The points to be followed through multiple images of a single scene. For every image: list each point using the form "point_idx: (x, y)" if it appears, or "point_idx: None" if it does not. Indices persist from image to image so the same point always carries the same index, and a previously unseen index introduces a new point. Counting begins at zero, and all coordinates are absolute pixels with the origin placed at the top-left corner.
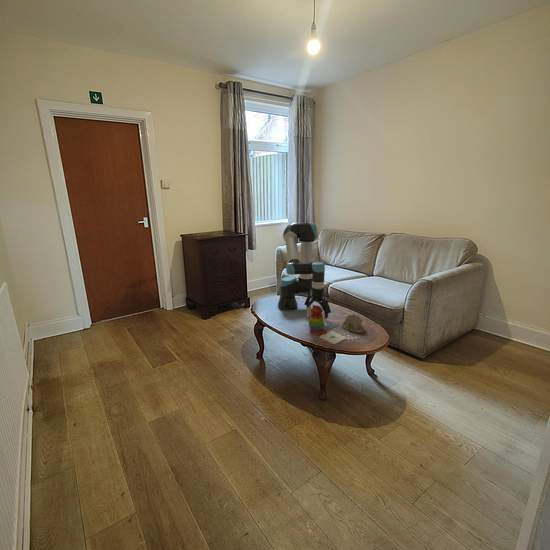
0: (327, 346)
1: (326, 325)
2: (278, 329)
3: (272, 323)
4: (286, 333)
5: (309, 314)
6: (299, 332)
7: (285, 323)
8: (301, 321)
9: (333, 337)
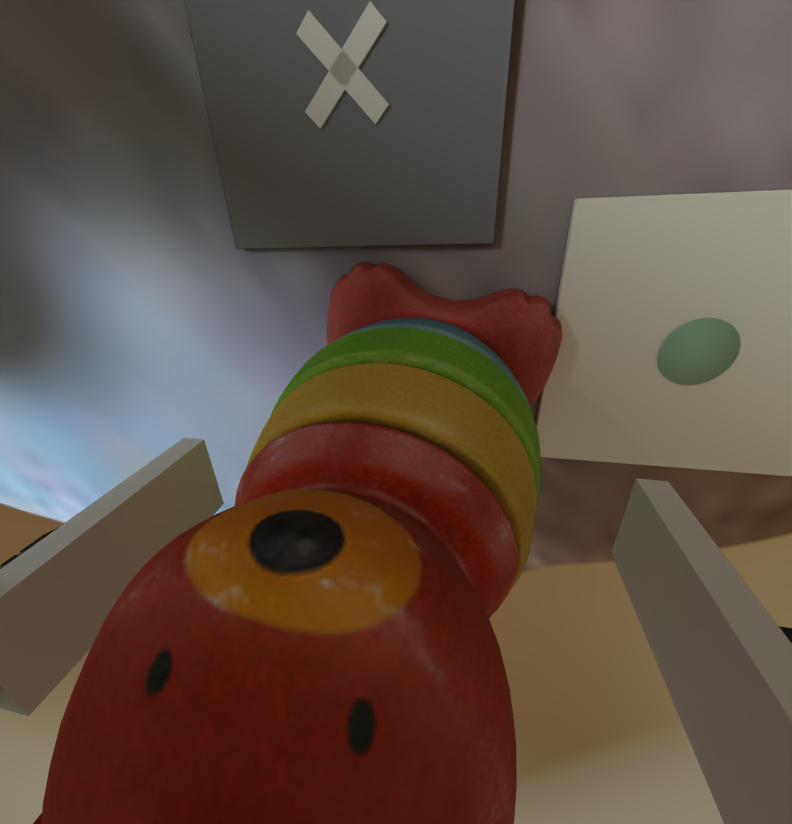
0: (724, 539)
1: (386, 101)
2: None
3: None
4: None
5: (189, 500)
6: None
7: (112, 449)
8: (111, 297)
9: (713, 358)
